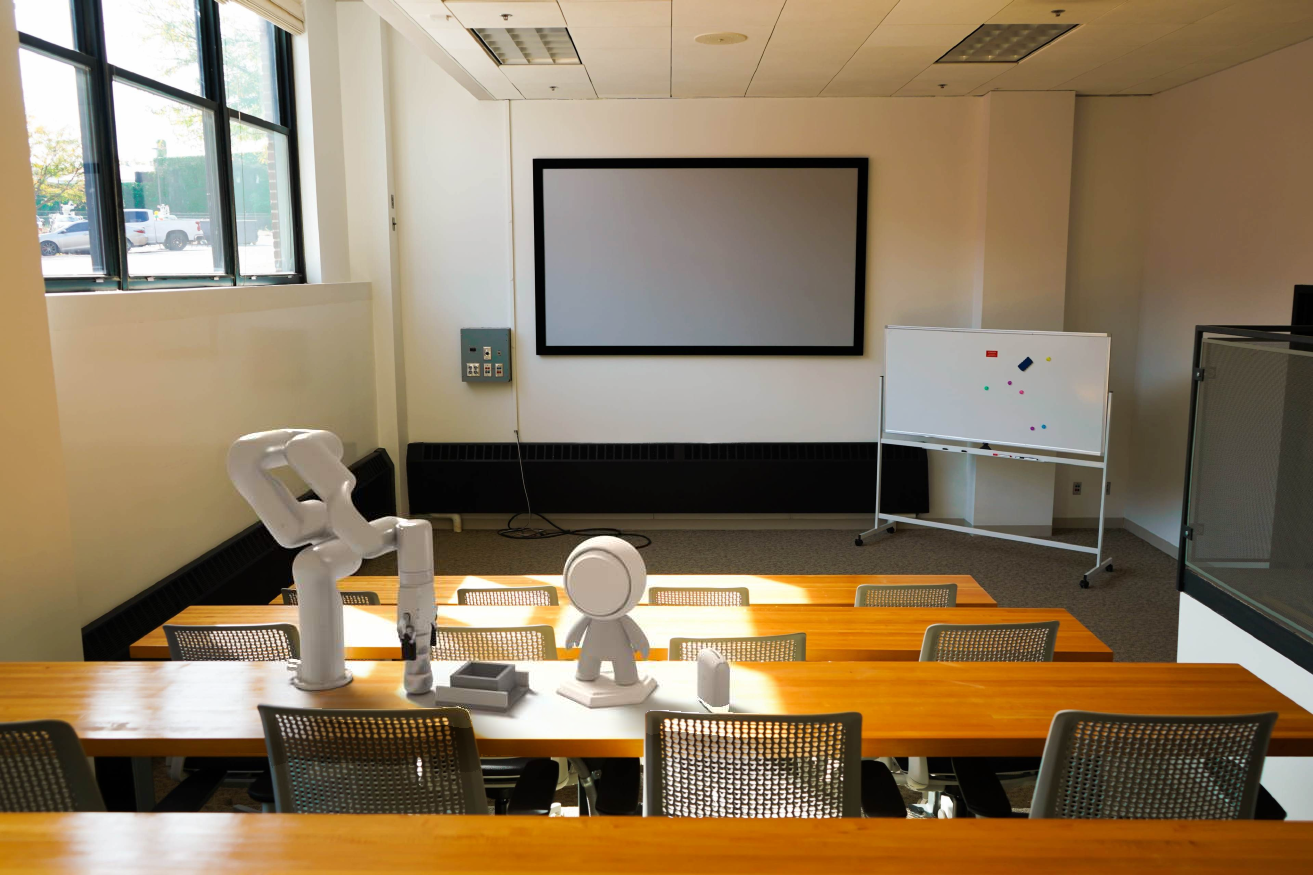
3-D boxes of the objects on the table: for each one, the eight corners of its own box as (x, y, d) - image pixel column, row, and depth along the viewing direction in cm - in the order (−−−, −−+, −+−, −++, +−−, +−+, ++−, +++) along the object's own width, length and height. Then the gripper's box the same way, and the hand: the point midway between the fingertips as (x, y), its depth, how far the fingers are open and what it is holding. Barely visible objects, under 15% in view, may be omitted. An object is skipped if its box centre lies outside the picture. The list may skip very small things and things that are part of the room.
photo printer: (694, 699, 212) (695, 644, 210) (712, 696, 213) (713, 642, 212) (713, 717, 202) (714, 659, 201) (732, 714, 204) (732, 657, 202)
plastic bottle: (437, 686, 218) (435, 600, 215) (427, 698, 211) (425, 609, 209) (409, 685, 218) (407, 599, 216) (398, 697, 212) (396, 608, 209)
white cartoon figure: (545, 702, 209) (544, 543, 205) (583, 666, 231) (583, 522, 227) (633, 713, 204) (634, 550, 200) (664, 675, 226) (665, 528, 221)
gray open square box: (435, 705, 207) (435, 678, 207) (462, 681, 221) (462, 656, 220) (505, 712, 204) (505, 684, 203) (529, 688, 217) (529, 662, 217)
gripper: (418, 566, 221) (422, 639, 223) (380, 586, 204) (384, 664, 206) (449, 567, 219) (452, 641, 221) (413, 587, 202) (417, 667, 204)
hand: (419, 652), depth 214 cm, fingers open, 9 cm apart
